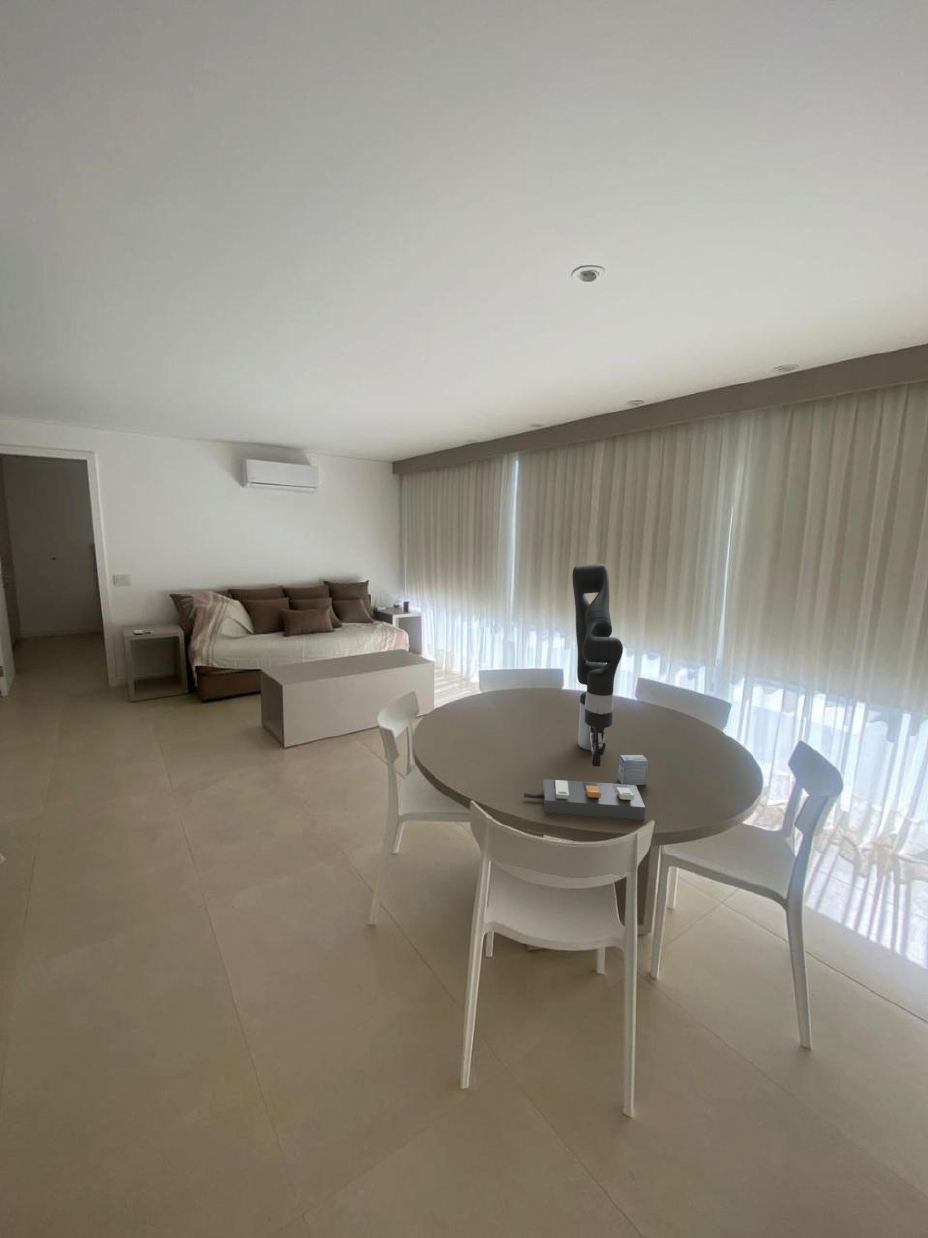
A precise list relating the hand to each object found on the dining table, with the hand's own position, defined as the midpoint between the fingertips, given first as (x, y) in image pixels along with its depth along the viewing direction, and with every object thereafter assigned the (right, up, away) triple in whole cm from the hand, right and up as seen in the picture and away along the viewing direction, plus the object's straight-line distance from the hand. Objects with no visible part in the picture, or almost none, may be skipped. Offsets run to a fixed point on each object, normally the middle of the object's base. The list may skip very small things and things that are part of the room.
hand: (595, 765), depth 136 cm
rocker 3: (+9, -9, +3) cm, 13 cm away
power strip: (-2, -14, +8) cm, 16 cm away
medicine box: (+18, -12, +21) cm, 30 cm away
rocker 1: (-8, -9, +5) cm, 13 cm away
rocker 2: (0, -9, +4) cm, 10 cm away
